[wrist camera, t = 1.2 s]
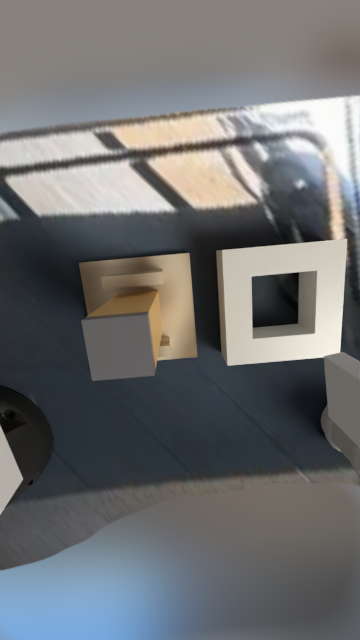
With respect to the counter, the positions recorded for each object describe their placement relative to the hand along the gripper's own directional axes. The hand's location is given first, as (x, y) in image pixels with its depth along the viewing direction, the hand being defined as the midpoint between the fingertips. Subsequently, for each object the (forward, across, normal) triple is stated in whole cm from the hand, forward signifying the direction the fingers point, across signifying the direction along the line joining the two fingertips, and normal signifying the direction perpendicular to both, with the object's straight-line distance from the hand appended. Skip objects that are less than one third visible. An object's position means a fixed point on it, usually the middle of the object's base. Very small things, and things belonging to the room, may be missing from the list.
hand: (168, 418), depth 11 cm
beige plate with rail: (+21, -3, +1) cm, 21 cm away
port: (+21, +12, -1) cm, 24 cm away
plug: (+20, -3, +1) cm, 21 cm away
